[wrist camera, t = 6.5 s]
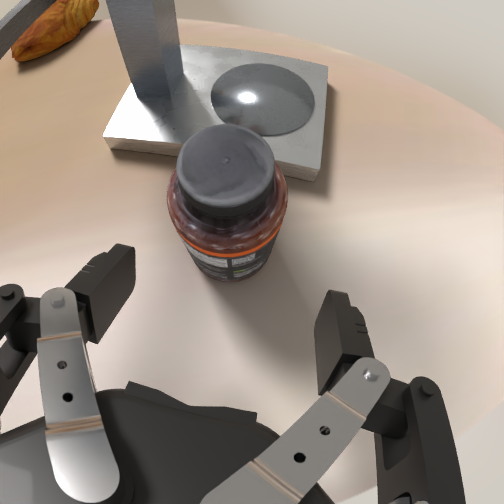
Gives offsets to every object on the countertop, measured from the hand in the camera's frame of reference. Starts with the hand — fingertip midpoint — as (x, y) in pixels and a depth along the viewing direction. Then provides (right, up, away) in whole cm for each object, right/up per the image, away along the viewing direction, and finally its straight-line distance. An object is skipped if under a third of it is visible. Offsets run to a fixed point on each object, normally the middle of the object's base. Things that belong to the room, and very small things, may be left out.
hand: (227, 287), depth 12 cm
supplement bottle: (-1, +2, +11) cm, 11 cm away
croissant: (-30, +35, +18) cm, 49 cm away
